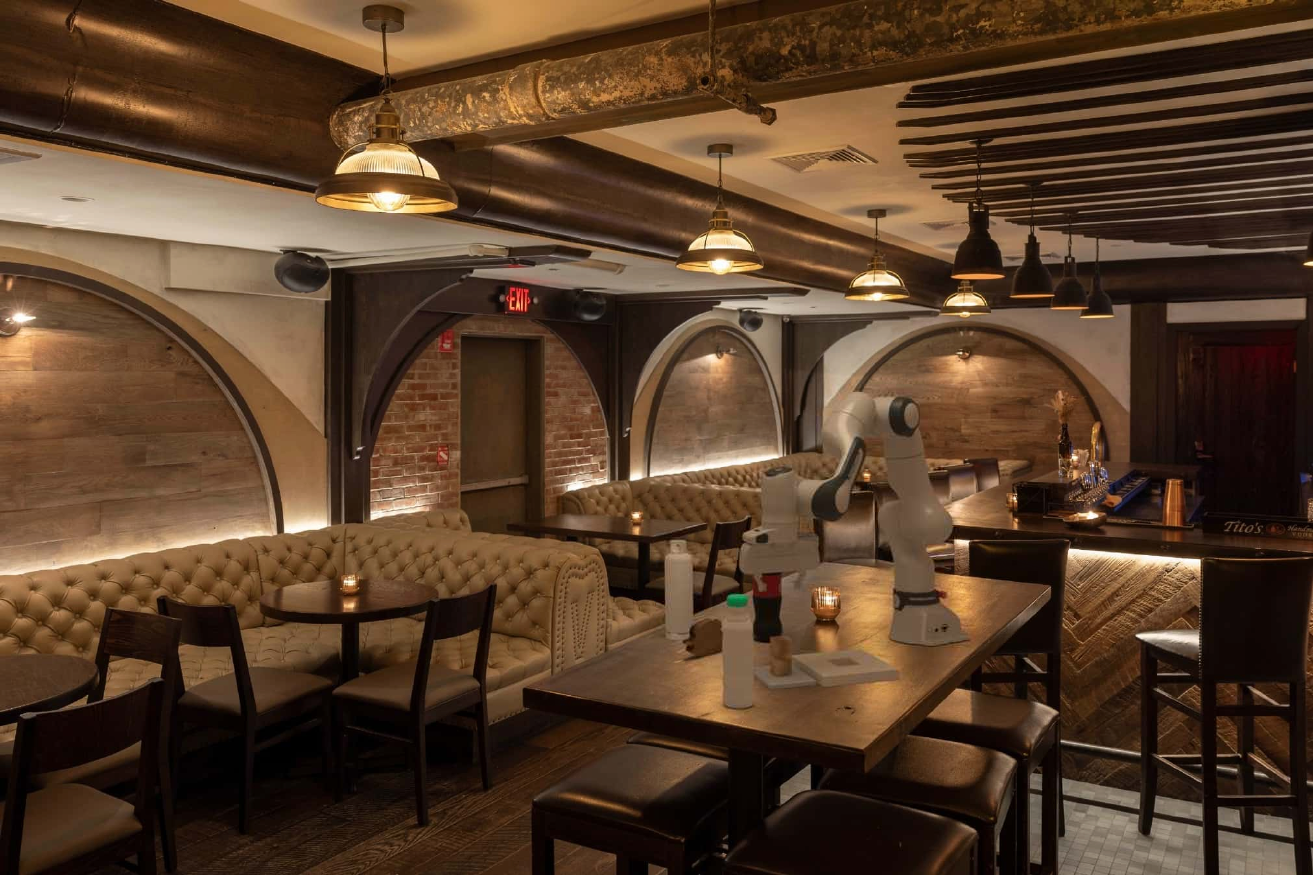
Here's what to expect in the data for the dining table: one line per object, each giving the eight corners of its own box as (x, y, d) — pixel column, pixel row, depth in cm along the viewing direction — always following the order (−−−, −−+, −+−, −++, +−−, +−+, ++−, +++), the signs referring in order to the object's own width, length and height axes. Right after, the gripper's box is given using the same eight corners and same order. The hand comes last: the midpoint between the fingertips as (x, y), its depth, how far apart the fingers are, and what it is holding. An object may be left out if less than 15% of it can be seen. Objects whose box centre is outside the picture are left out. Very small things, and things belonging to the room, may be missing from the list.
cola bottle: (785, 636, 282) (784, 533, 280) (779, 644, 274) (778, 537, 272) (756, 635, 284) (755, 532, 283) (749, 642, 276) (748, 536, 275)
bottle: (697, 634, 285) (696, 539, 284) (686, 641, 278) (685, 543, 277) (672, 632, 289) (671, 538, 288) (661, 638, 282) (659, 542, 280)
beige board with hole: (860, 658, 258) (860, 648, 258) (899, 679, 239) (899, 669, 239) (790, 664, 253) (790, 655, 253) (824, 686, 234) (824, 676, 234)
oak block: (785, 671, 244) (785, 635, 243) (791, 675, 240) (791, 639, 240) (770, 672, 243) (770, 636, 242) (776, 676, 239) (776, 640, 238)
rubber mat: (790, 667, 251) (790, 663, 251) (816, 684, 235) (816, 680, 235) (746, 671, 248) (746, 667, 247) (770, 689, 232) (770, 685, 232)
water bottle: (720, 700, 225) (719, 592, 224) (750, 698, 225) (749, 591, 224) (725, 710, 218) (724, 599, 217) (756, 708, 218) (755, 598, 217)
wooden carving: (717, 647, 271) (717, 612, 271) (730, 650, 268) (730, 614, 268) (679, 660, 259) (678, 622, 259) (692, 663, 256) (691, 625, 255)
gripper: (813, 529, 245) (813, 584, 246) (736, 534, 240) (737, 590, 241) (823, 533, 239) (824, 588, 240) (745, 537, 234) (746, 595, 235)
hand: (780, 589), depth 240 cm, fingers open, 8 cm apart
